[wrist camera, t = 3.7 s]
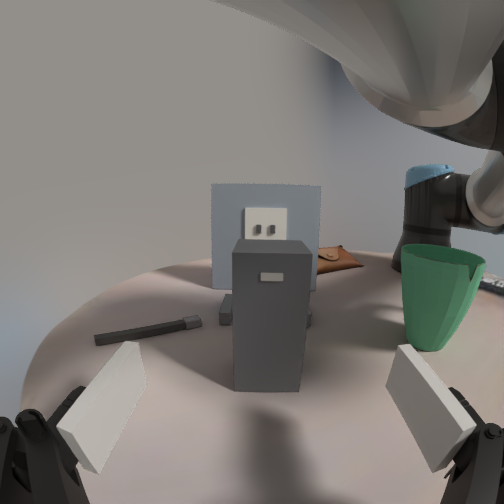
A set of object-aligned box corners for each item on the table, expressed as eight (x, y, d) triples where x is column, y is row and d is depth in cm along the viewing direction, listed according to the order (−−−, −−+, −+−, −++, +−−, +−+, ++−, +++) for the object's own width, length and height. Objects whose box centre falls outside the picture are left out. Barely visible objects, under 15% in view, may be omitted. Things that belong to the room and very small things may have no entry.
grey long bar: (197, 322, 31) (197, 315, 31) (201, 326, 30) (201, 319, 30) (95, 341, 24) (93, 333, 24) (96, 346, 23) (94, 338, 23)
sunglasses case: (304, 278, 48) (294, 243, 50) (284, 287, 54) (275, 255, 56) (366, 265, 57) (357, 237, 58) (345, 274, 62) (337, 248, 64)
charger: (291, 352, 25) (299, 238, 23) (298, 392, 19) (313, 254, 17) (239, 351, 25) (239, 237, 23) (234, 392, 19) (231, 252, 17)
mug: (446, 375, 18) (477, 270, 16) (369, 340, 26) (384, 248, 24) (478, 325, 26) (494, 252, 24) (422, 306, 34) (433, 238, 32)
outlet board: (313, 286, 44) (318, 186, 41) (333, 325, 30) (345, 183, 27) (214, 284, 44) (213, 184, 41) (195, 323, 31) (191, 180, 27)
